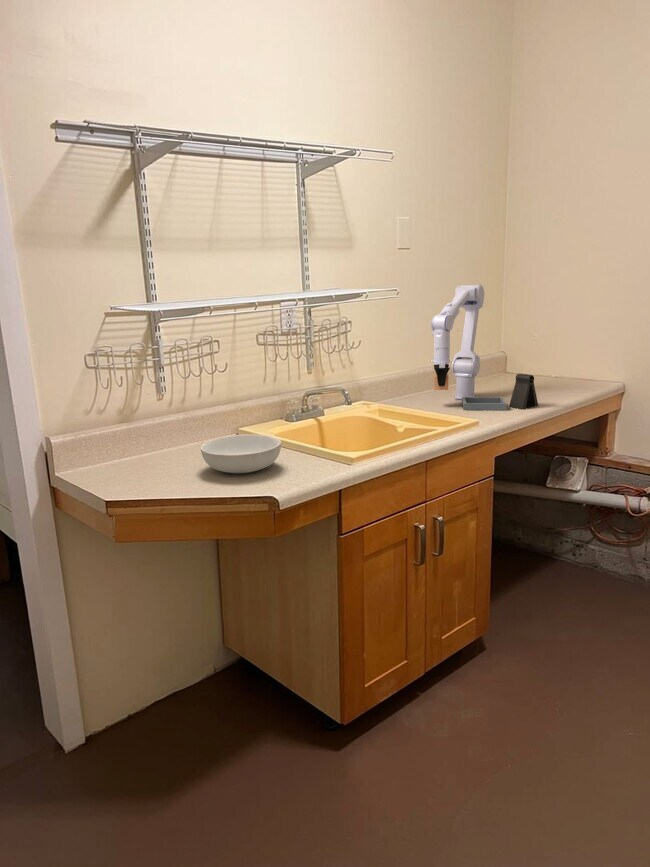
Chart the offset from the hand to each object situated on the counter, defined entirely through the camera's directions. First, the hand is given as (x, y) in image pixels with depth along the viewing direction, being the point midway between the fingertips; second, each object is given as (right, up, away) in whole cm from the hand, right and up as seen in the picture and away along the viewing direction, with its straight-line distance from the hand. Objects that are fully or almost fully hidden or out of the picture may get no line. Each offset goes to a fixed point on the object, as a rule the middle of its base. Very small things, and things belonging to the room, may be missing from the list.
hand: (441, 384), depth 244 cm
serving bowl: (-65, -28, -71) cm, 100 cm away
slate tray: (+16, -8, 0) cm, 18 cm away
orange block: (0, -1, 0) cm, 2 cm away
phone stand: (+30, -8, -2) cm, 31 cm away
